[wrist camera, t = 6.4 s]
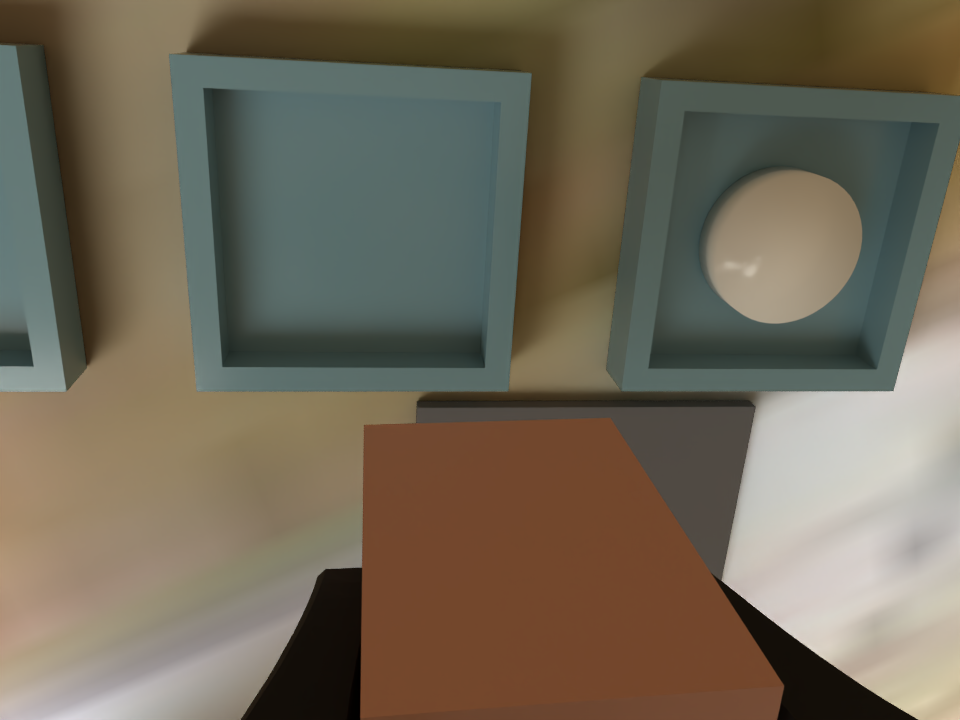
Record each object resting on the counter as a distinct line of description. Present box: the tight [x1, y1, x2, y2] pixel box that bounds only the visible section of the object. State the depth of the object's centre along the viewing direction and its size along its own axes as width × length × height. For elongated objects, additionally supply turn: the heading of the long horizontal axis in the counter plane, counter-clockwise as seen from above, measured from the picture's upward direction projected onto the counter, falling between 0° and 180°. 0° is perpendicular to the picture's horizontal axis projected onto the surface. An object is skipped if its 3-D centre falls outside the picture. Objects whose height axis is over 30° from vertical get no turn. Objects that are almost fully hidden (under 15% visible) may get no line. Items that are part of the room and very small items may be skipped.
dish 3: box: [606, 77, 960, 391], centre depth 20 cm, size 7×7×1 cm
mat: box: [416, 401, 755, 580], centre depth 23 cm, size 9×9×1 cm
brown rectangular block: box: [360, 418, 784, 720], centre depth 11 cm, size 4×4×6 cm
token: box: [699, 166, 862, 324], centre depth 19 cm, size 4×4×1 cm
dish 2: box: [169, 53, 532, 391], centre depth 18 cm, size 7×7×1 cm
